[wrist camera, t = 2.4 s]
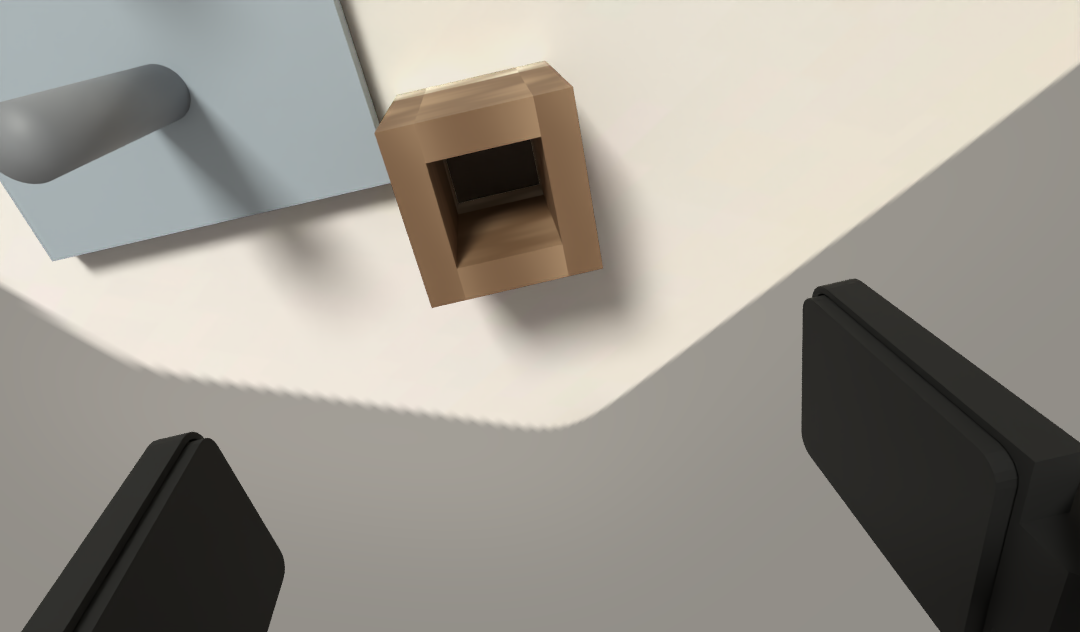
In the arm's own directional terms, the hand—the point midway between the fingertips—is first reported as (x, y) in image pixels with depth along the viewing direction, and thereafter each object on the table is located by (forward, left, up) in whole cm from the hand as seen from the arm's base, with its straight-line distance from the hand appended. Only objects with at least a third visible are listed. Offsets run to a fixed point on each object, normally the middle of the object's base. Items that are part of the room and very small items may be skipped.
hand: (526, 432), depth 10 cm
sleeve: (0, 0, -18) cm, 18 cm away
